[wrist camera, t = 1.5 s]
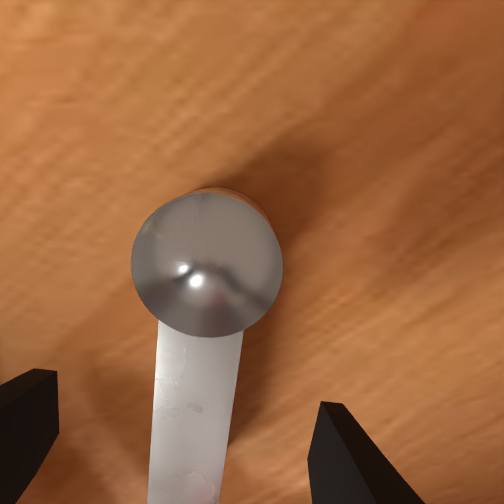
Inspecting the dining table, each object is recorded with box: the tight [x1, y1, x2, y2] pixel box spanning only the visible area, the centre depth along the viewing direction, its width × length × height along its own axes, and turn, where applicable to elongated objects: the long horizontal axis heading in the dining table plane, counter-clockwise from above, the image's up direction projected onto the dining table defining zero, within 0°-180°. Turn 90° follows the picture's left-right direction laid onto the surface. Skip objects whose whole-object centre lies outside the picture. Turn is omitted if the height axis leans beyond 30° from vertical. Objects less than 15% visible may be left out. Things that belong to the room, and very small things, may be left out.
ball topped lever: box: [131, 187, 283, 504], centre depth 11 cm, size 12×4×3 cm, turn 172°
